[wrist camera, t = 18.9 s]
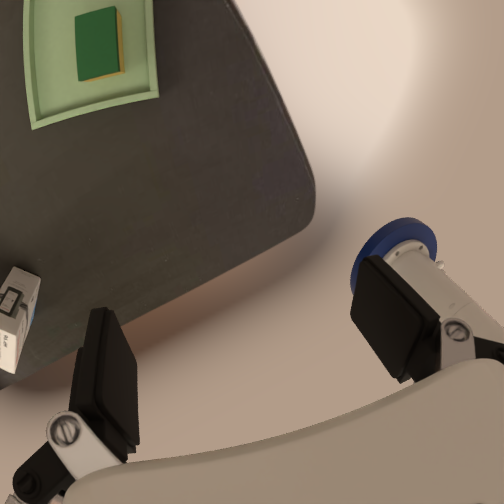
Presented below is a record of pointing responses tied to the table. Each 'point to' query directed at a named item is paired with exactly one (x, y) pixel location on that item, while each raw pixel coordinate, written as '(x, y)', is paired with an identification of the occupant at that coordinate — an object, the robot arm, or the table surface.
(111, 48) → the sponge
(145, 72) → the tray
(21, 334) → the ink box
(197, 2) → the table surface
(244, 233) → the table surface
